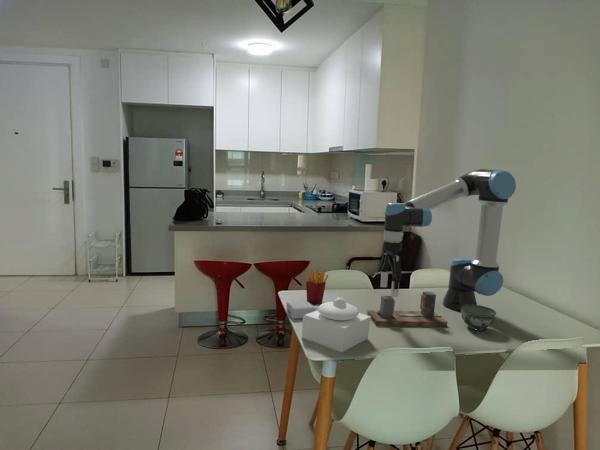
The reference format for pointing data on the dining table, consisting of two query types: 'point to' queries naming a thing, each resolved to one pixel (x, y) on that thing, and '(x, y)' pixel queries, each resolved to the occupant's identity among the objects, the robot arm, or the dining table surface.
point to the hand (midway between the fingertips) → (388, 291)
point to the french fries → (315, 287)
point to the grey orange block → (387, 307)
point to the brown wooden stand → (412, 315)
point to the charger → (299, 309)
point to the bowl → (477, 316)
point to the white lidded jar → (336, 325)
